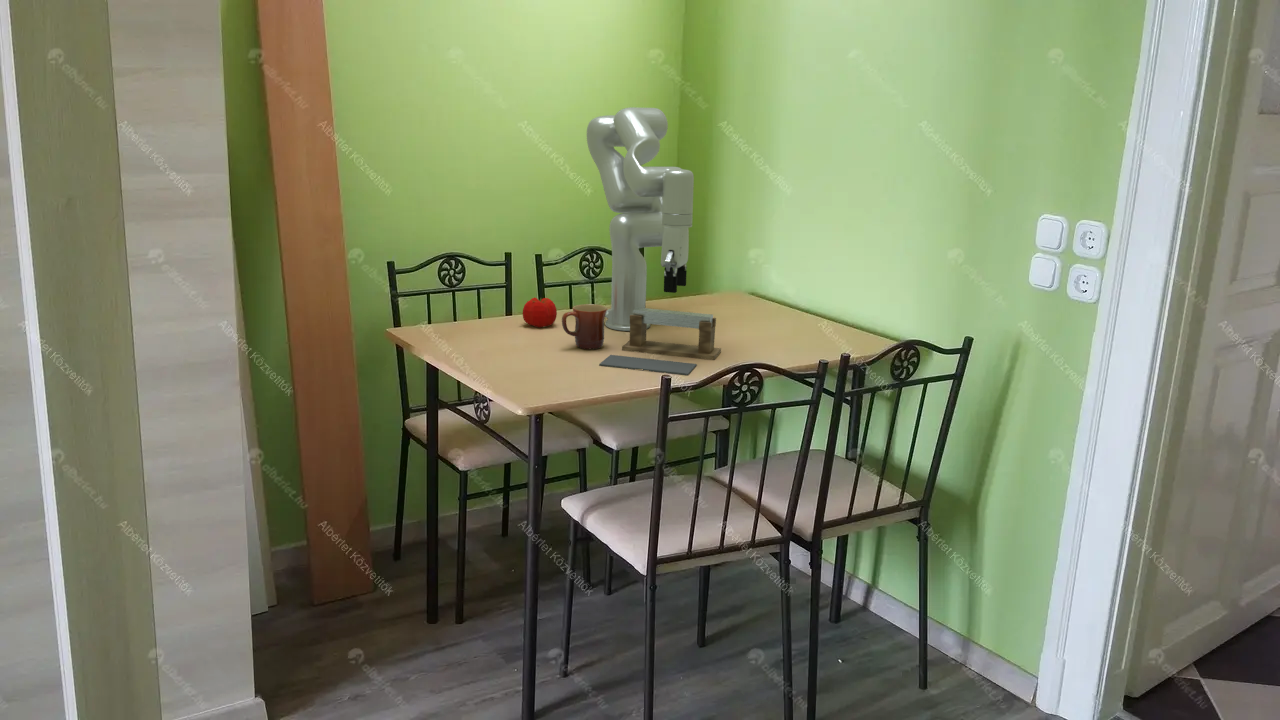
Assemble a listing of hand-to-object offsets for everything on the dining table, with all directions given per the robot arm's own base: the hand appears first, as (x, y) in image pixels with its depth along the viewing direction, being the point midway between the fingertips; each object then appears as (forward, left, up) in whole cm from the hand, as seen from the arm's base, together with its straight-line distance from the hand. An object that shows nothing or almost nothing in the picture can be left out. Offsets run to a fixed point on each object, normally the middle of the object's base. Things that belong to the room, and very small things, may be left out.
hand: (675, 288), depth 251 cm
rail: (0, 0, -9) cm, 9 cm away
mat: (-2, -15, -16) cm, 22 cm away
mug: (-22, -5, -17) cm, 28 cm away
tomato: (-41, +12, -17) cm, 46 cm away
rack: (0, 0, -16) cm, 16 cm away
